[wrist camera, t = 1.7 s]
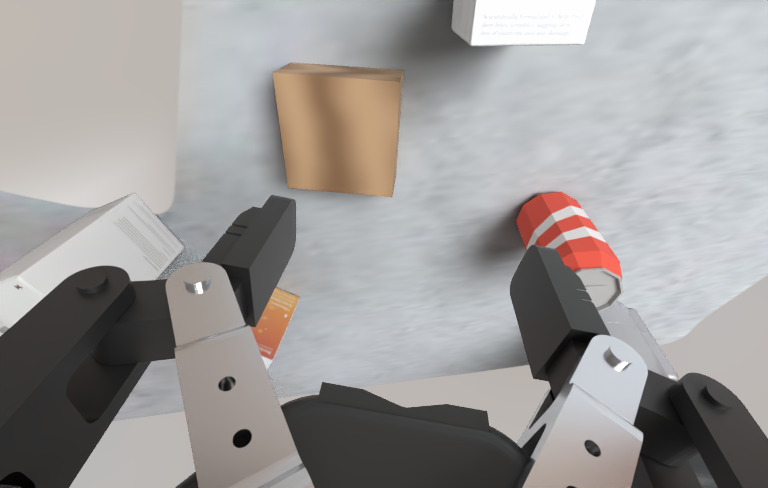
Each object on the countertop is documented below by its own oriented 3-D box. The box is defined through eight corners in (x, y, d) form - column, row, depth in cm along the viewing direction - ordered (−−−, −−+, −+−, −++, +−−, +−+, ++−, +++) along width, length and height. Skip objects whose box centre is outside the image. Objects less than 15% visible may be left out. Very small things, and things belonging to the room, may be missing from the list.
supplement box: (85, 211, 43) (-45, 296, 31) (135, 190, 41) (13, 274, 29) (139, 264, 48) (44, 356, 36) (187, 248, 45) (101, 342, 33)
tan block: (403, 69, 30) (400, 81, 26) (396, 174, 36) (392, 197, 32) (292, 61, 31) (272, 72, 27) (303, 166, 37) (287, 187, 33)
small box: (301, 296, 49) (275, 361, 40) (289, 318, 52) (262, 382, 43) (246, 273, 47) (207, 335, 38) (237, 297, 50) (199, 359, 42)
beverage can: (573, 235, 38) (621, 318, 29) (512, 239, 39) (540, 320, 30) (582, 186, 35) (642, 262, 25) (516, 192, 36) (548, 267, 26)
